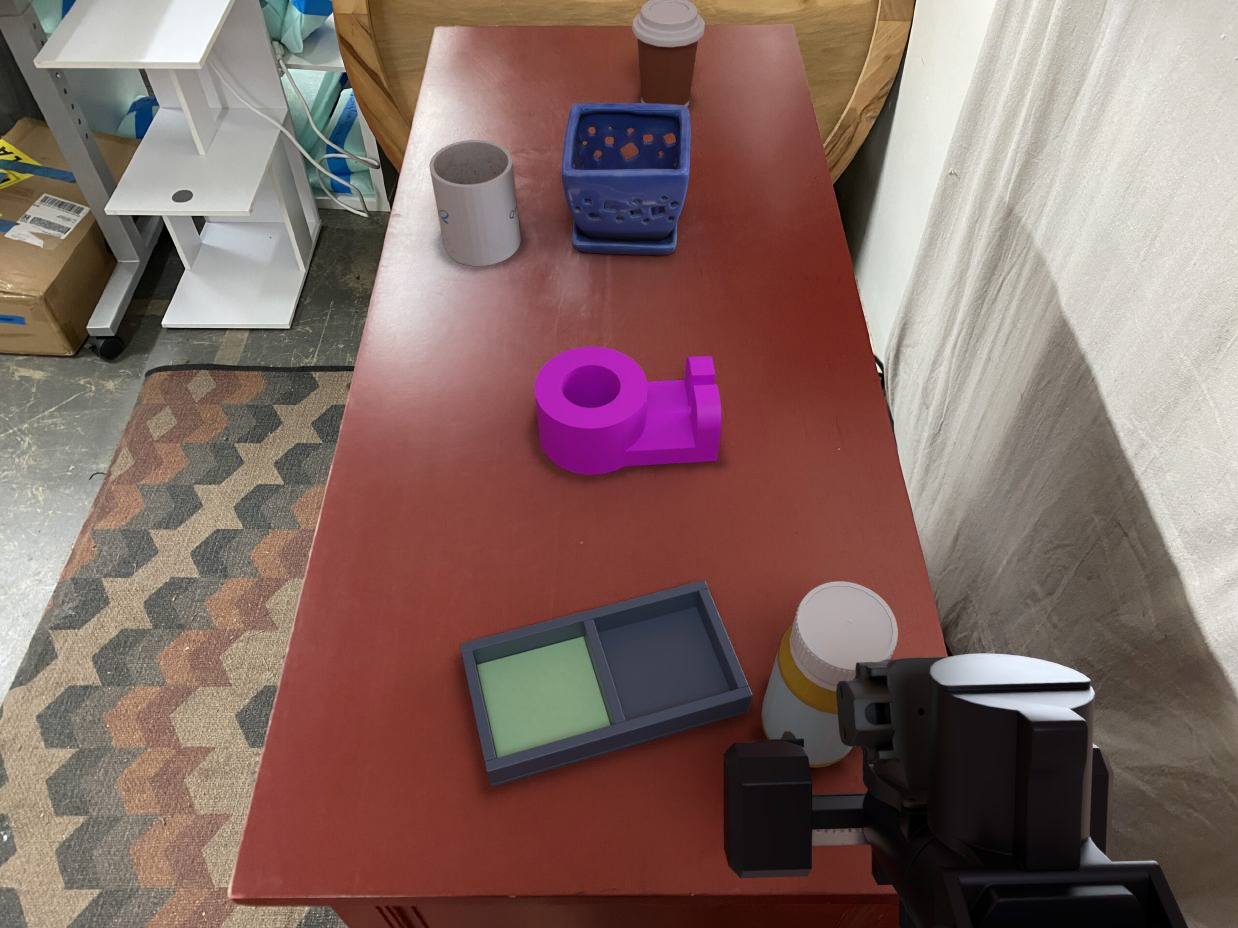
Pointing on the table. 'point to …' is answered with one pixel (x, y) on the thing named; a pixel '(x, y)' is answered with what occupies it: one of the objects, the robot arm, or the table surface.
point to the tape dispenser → (624, 412)
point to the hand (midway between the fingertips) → (864, 736)
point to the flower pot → (626, 176)
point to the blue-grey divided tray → (602, 681)
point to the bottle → (825, 664)
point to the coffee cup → (667, 49)
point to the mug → (476, 201)
